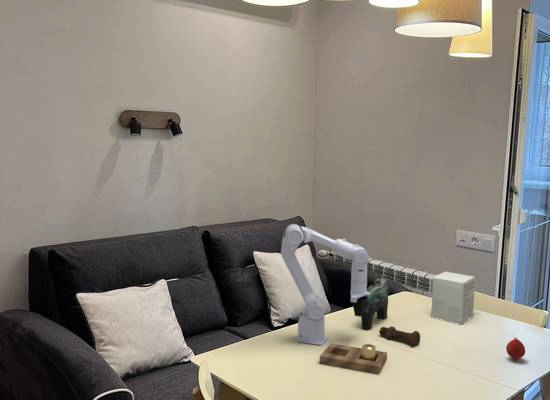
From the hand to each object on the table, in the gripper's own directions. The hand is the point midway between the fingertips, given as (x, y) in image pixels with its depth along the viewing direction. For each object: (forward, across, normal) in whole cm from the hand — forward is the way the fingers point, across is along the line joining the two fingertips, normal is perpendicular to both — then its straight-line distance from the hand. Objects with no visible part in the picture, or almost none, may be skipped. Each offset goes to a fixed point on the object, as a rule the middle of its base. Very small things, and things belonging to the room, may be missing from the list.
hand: (358, 315), depth 192 cm
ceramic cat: (+10, +20, -2) cm, 23 cm away
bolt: (+10, +6, -14) cm, 18 cm away
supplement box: (+10, +41, -30) cm, 52 cm away
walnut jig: (+9, -18, -4) cm, 21 cm away
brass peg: (+9, -18, -9) cm, 22 cm away
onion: (+10, +5, -53) cm, 54 cm away
